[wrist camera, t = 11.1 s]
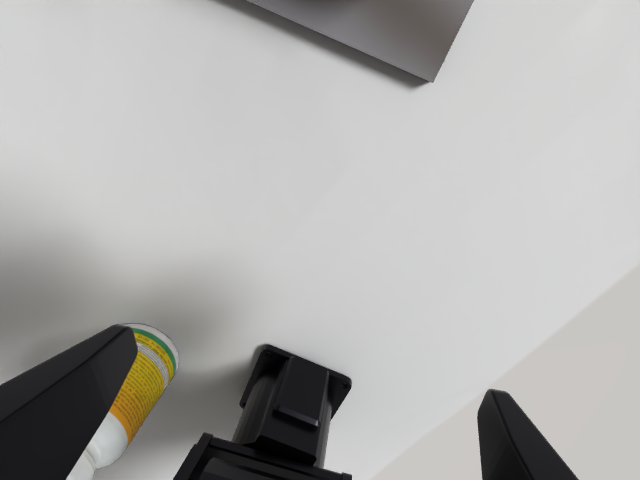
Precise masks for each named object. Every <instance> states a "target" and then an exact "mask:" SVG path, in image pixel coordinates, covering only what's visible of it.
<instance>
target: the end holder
mask: <svg viewBox="0 0 640 480" xmlns="http://www.w3.org/2000/svg"><path fill="white" fill-rule="evenodd" d="M246 1H249V2H251V3H253V4H256V5H258V6H260V7H262V8H265V9H267V10H269V11H271V12H274V13H276V14H278V15H280V16H283V17H285V18H287V19H289V20H292V21H294V22H296V23H298V24H301V25H303V26H305V27H307V28H310V29H312V30H314V31H317V32H319V33H321V34H323V35H326V36H328V37H330V38H332V39H335V40H337V41H339V42H341V43H344V44H346V45H348V46H350V47H353V48H355V49H357V50H359V51H362V52H364V53H366V54H369V55H371V56H373V57H375V58H378V59H380V60H382V61H384V62H387V63H389V64H391V65H393V66H396V67H398V68H400V69H402V70H405V71H407V72H409V73H411V74H414V75H416V76H418V77H421V78H423V79H425V80H427V81H430V82H432V83H433V82H434V80H435V78H436V76H437V74H438V72H439V70H440V68H441V66H442V64H443V62H444V60H445V58H446V55H447V53H448V51H449V49H450V47H451V45H452V43H453V41H454V39H455V37H456V35H457V33H458V31H459V29H460V27H461V25H462V23H463V21H464V19H465V17H466V15H467V13H468V11H469V9H470V7H471V5H472V3H473V1H474V0H246Z"/></svg>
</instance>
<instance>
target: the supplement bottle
mask: <svg viewBox="0 0 640 480" xmlns="http://www.w3.org/2000/svg"><path fill="white" fill-rule="evenodd" d="M125 326H129V327H131V328H132V329H133V331H134V335H135V339H136V343H137V346H138V354H137V357H136V359H135V361H134V363H133V365H132V367H131V369H130V371H129V373H128V375H127V377H126V379H125V381H124V383H123V385H122V387H121V389H120V391H119V393H118V395H117V397H116V399H115V401H114V403H113V405H112V406H111V408H110V410H109V412H108V414H107V415H106V417H105V419H104V420H103V422H102V423H101V425H100V427H99V428H98V430H97V431H96V433H95V434H94V436H93V438H92V439H91V441H90V442H89V444H88V445H87V447H86V449H85V450H84V452H83V453H82V455H81V457H80V458H79V460H78V461H77V463H76V464H75V466H74V468H73V469H72V471H71V472H70V474H69V475H68V477H67V479H66V480H92V478H93V476H94V472H95V469H98V468H102V467H105V466H108V465H110V464H112V463H113V462H115V461H116V460H117V459H118V458H119V457H120V456H121V455H122V454H123V452H124V451H125V450H126V448H127V447H128V445H129V444H130V442H131V440H132V439H133V437H134V436H135V434H136V433H137V431H138V430H139V428H140V426H141V425H142V423H143V422H144V420H145V419H146V417H147V416H148V414H149V413H150V411H151V410H152V408H153V407H154V405H155V404H156V402H157V401H158V399H159V398H160V396H161V394H162V393H163V391H164V390H165V388H166V387H167V385H168V384H169V382H170V381H171V379H172V378H173V376H174V375H175V373H176V371H177V369H178V363H179V360H178V353H177V350H176V348H175V346H174V344H173V343H172V341H171V340H170V339H169V338H168V337H167V336H165V335H164V334H163V333H162V332H160V331H158V330H156V329H155V328H152V327H150V326H147V325H143V324H126V325H125Z"/></svg>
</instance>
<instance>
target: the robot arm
mask: <svg viewBox="0 0 640 480" xmlns="http://www.w3.org/2000/svg"><path fill="white" fill-rule="evenodd" d="M267 352H269V353H271V354H269V353H267ZM137 354H138V346H137V343H136V339H135V335H134V331H133V329H132V328H131V327H129V326H125V325H118V324H117V325H113V326H111V327H109V328H107V329H105V330H103V331H101V332H100V333H98V334H96V335H94V336H92V337H90V338H88V339H86V340H84V341H83V342H81V343H79V344H77V345H75V346H73V347H71V348H69V349H67V350H66V351H64V352H62V353H60V354H58V355H56V356H54V357H52V358H51V359H49V360H47V361H45V362H43V363H41V364H39V365H37V366H35V367H34V368H32V369H30V370H28V371H26V372H24V373H22V374H20V375H18V376H17V377H15V378H13V379H11V380H9V381H7V382H5V383H3V384H1V385H0V480H66V479H67V477H68V475H69V474H70V472H71V471H72V469H73V468H74V466H75V464H76V463H77V461H78V460H79V458H80V457H81V455H82V453H83V452H84V450H85V449H86V447H87V445H88V444H89V442H90V441H91V439H92V438H93V436H94V434H95V433H96V431H97V430H98V428H99V427H100V425H101V423H102V422H103V420H104V419H105V417H106V415H107V414H108V412H109V410H110V408H111V406H112V405H113V403H114V401H115V399H116V397H117V395H118V393H119V391H120V389H121V387H122V385H123V383H124V381H125V379H126V377H127V375H128V373H129V371H130V369H131V367H132V365H133V363H134V361H135V359H136V357H137ZM342 383H345V384H342ZM351 386H352V381H351V379H350V378H349V377H347V376H344V375H342V374H339V373H337V372H335V371H332V370H330V369H327V368H325V367H322V366H320V365H317V364H315V363H313V362H310V361H308V360H305V359H303V358H300V357H298V356H295V355H293V354H291V353H288V352H286V351H283V350H281V349H278V348H276V347H273V346H270V345H266V346H264V347H263V349H262V351H261V354H260V356H259V359H258V361H257V363H256V366H255V368H254V370H253V373H252V375H251V377H250V380H249V382H248V384H247V387H246V389H245V391H244V394H243V396H242V398H241V401H240V406H241V407H242V408H243V409H244V411H243V413H242V416H241V418H240V421H239V423H238V426H237V428H236V431H235V433H234V436H233V438H232V441H231V442H230V441H226V440H223V439H219V438H216V437H213V435H212V434H208V433H205V432H204V433H203V435H202V437H201V438H200V440H199V442H198V443H197V444H194V446H193V447H192V449H191V450H190V452H189V454H188V456H187V457H186V459H185V461H184V462H183V464H182V465H181V467H180V469H179V470H178V472H177V474H176V475H175V477H174V479H173V480H352V475H350V474H347V473H343V472H342V474H340V473H337V472H333V471H330V470H326V469H323V467H324V460H325V453H326V446H327V440H328V433H329V426H330V421H331V419H332V418H333V416H334V415H335V413H336V411H337V410H338V408H339V407H340V405H341V404H342V402H343V400H344V399H345V397H346V396H347V394H348V393H349V391H350V389H351ZM477 419H478V431H479V432H478V433H479V444H480V456H481V467H482V479H483V480H579V479H578V478H577V477H576V476H575V475H574V473H573V472H572V471H571V470H570V468H569V467H568V466H567V465H566V463H565V462H564V461H563V460H562V458H561V457H560V456H559V455H558V454H557V452H556V451H555V450H554V449H553V447H552V446H551V445H550V444H549V443H548V441H547V440H546V439H545V437H544V436H543V435H542V434H541V433H540V431H539V430H538V429H537V428H536V426H535V425H534V424H533V423H532V422H531V420H530V419H529V418H528V417H527V415H526V414H525V413H524V412H523V410H522V409H521V408H520V407H519V405H518V404H517V403H516V402H515V400H513V398H512V397H511V396H510V394H508V393H506V392H505V391H500V390H495V389H489V390H488V391H487V392H486V394H485V396H484V399H483V401H482V403H481V405H480V408H479V410H478V416H477Z"/></svg>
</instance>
